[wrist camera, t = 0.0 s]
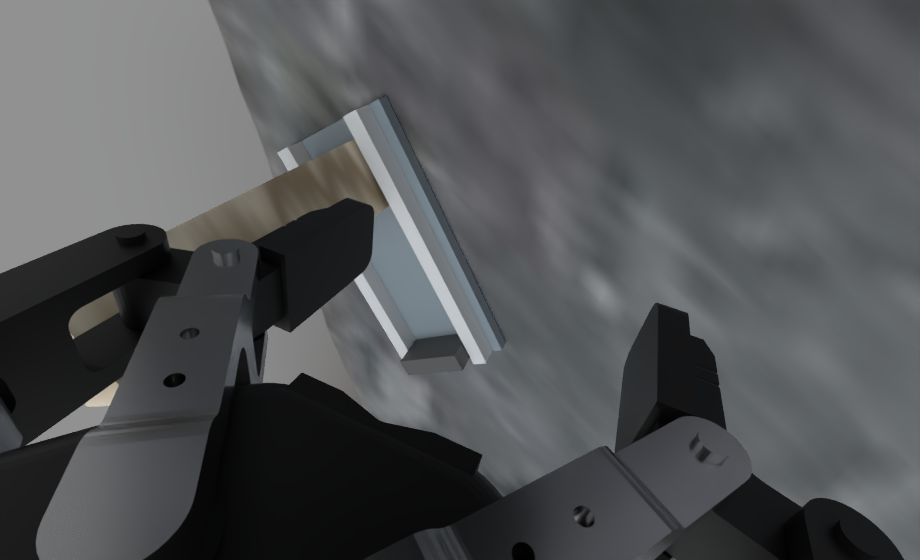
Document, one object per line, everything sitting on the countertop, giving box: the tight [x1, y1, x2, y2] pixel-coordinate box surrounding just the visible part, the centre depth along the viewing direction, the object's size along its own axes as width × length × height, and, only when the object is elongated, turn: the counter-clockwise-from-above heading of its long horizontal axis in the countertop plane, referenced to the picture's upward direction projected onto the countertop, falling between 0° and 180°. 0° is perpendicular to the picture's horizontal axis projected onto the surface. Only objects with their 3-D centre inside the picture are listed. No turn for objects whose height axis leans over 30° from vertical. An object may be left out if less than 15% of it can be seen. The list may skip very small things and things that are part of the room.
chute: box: [278, 96, 505, 375], centre depth 34 cm, size 21×10×4 cm, turn 27°
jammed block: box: [69, 139, 389, 407], centre depth 25 cm, size 5×5×20 cm
